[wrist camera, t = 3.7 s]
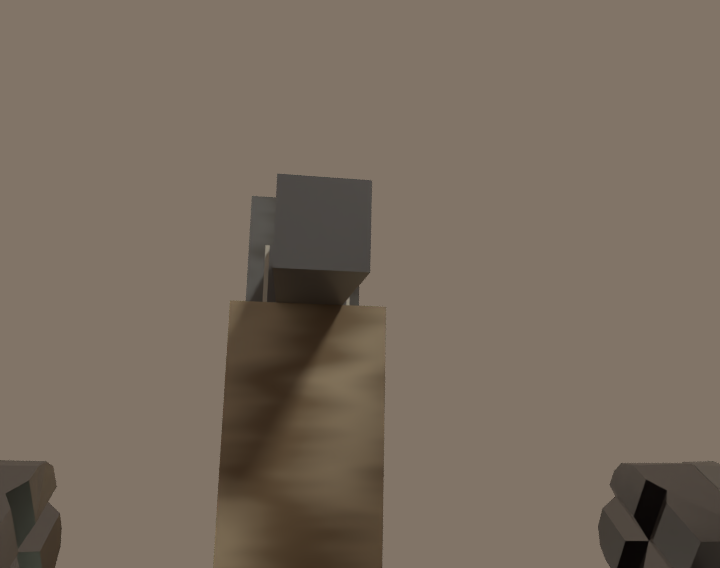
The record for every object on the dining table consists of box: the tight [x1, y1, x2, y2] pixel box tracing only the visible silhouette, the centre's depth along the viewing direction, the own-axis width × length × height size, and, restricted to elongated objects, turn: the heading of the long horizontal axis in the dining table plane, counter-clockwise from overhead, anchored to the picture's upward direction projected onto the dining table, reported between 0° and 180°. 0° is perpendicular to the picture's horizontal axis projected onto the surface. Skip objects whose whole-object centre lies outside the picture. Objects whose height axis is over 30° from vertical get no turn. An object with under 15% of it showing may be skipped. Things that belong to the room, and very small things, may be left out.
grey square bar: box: [263, 174, 372, 305], centre depth 25 cm, size 4×17×4 cm, turn 8°
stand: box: [213, 196, 386, 568], centre depth 29 cm, size 7×11×34 cm, turn 8°
